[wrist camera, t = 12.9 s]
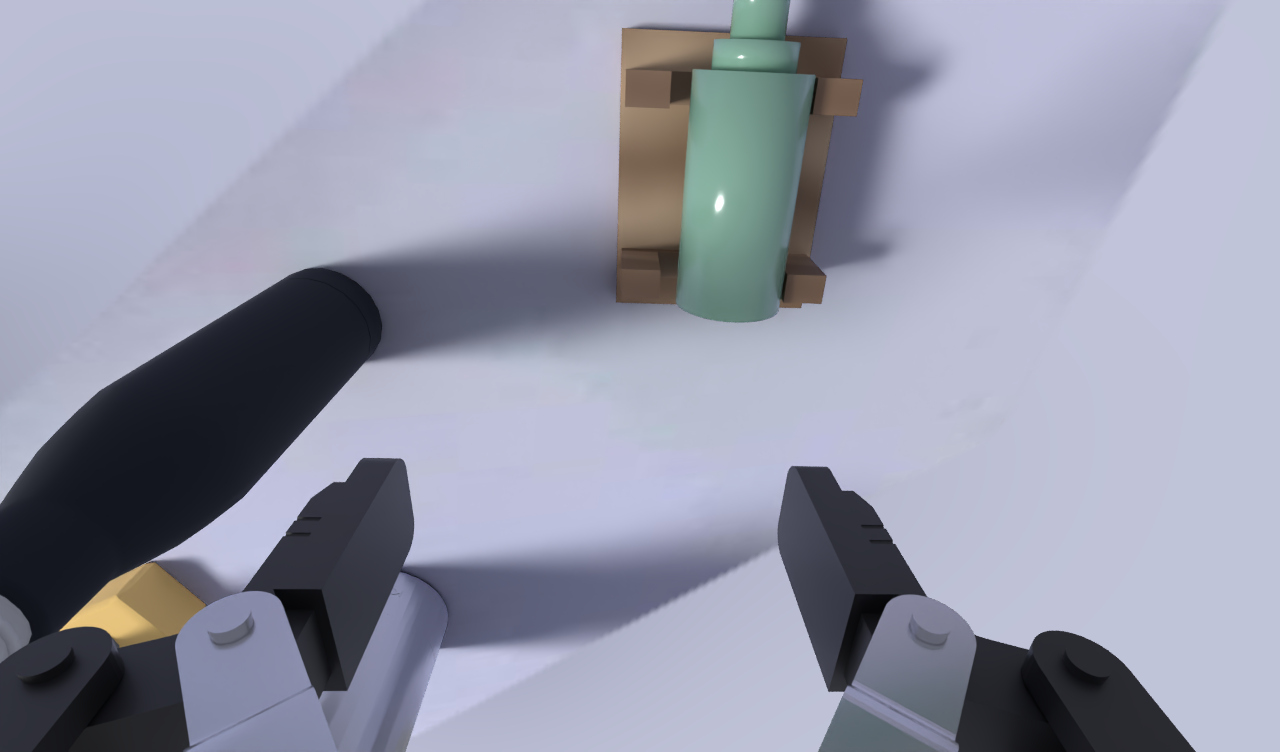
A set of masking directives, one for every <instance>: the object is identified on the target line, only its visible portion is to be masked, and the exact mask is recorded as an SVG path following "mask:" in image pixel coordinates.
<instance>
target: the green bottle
mask: <svg viewBox="0 0 1280 752" xmlns="http://www.w3.org/2000/svg"><path fill="white" fill-rule="evenodd" d="M789 6H790V0H733V10H732V20H731V31H730V39H714V42H713V53H712V65H711V70H701V69H692V80H691V93H690V107H689V120H688V134H687V148H686V161H685V175H684V188H683V202H682V215H681V229H680V243H679V256H678V270H677V283H676V297H675V301H676V304H677V305H678V306H679V307H680V308H681V309H683V310H684V311H686V312H688V313H690V314H693V315H695V316H698V317H702V318H706V319H710V320H716V321H723V322H756V321H761V320H765V319H768V318H771V317H773V316H775V315H776V314H777V313H778V311H779V307H780V300H781V294H782V288H783V281H784V275H785V269H786V262H787V256H788V250H789V243H790V237H791V231H792V224H793V218H794V212H795V205H796V199H797V193H798V187H799V180H800V174H801V168H802V161H803V155H804V149H805V142H806V136H807V130H808V123H809V117H810V111H811V104H812V98H813V92H814V85H815V79H816V75H806V74H797V67H798V60H799V53H800V46H801V43H799V42H791V41H785V36H786V28H787V21H788V13H789Z"/></svg>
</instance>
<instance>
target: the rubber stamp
mask: <svg viewBox="0 0 1280 752" xmlns="http://www.w3.org/2000/svg"><path fill="white" fill-rule="evenodd" d="M205 607H206V604H204V603H203V602H202V601H201V600H200V599H198V598H197V597H196V596H195V595H194V594H192V593H191V592H190V591H189V590H188V589H186V588H185V587H184V586H183V585H182V584H180V583H179V582H178V581H177V580H176V579H174V578H173V577H172V576H171V575H170V574H168V573H167V572H166V571H165V570H164V569H162V568H161V567H160V566H159V565H158V564H156V563H147V564H144V565H142V566H140V567H138V568H136V569H133V570H131V571H129V572H127V573H125V574H123V575H121V576H119V577H117V578H115V579H113V580H111V581H110V582H108V583H107V584H106V585H105V586H104V587H103V588H102V589H101V590H100V591H99V592H98V593H97V594H96V595H95V596H94V597H93V598H92V599H91V600H90V601H89V602H88V603H87V604H86V605H85V606H84V607H83V608H82V609H81V610H80V611H79V612H78V613H77V614H76V615H75V616H74V617H73V618H72V619H71V620H70V621H69V622H68V623H67V624H66V625H65V626H64V627H63V628H62V629H61V630H60V631H62V630H65V629H70V628H75V627H84V626H87V627H98V628H101V629H104V630H106V631H107V632H108V633H109V634H110V636H111V638H112V640H113V642H114V644H115V646H116V648H120V647H125V646H129V645H133V644H137V643H142V642H146V641H150V640H155V639H159V638H163V637H167V636H172V635H175V634H179V632H180V630H181V629H182V628H183V626H184V625H185V624H186V623H187V621H188V620H189V619H190V618H191V617H193V616H194V615H195V614H196V613H197V612H199V611H200V610H202V609H203V608H205Z"/></svg>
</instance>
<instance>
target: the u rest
mask: <svg viewBox="0 0 1280 752" xmlns="http://www.w3.org/2000/svg"><path fill="white" fill-rule="evenodd" d="M714 39H730V33H717V32H695V31H673V30H651V29H629V28H622V58H621V104H620V150H619V196H618V242H617V288H616V302H620V303H652V304H676V301H675V297H676V283H677V270H678V256H679V243H680V229H681V215H682V202H683V188H684V175H685V161H686V148H687V134H688V120H689V107H690V93H691V80H692V69H701V70H711V65H712V53H713V42H714ZM785 41H791V42H799V43H801V46H800V53H799V60H798V67H797V74H806V75H816V79H815V85H814V92H813V98H812V104H811V111H810V117H809V123H808V130H807V136H806V142H805V149H804V155H803V161H802V168H801V174H800V180H799V187H798V193H797V199H796V205H795V212H794V218H793V224H792V231H791V237H790V243H789V250H788V256H787V262H786V269H785V275H784V281H783V288H782V294H781V300H780V307H782V308H801V306H802V303H814V304H821V303H822V297H823V292H824V287H825V281H826V275H825V274H824V273H823V272H822V271H821V270H820V269H819V268H818V267H817V265H816V264H815V263H814V262H813V261H812V260H811V259H810V253H811V247H812V242H813V236H814V230H815V224H816V218H817V213H818V207H819V201H820V195H821V189H822V183H823V178H824V172H825V166H826V160H827V154H828V148H829V143H830V137H831V131H832V125H833V119H834V116H857V111H858V105H859V100H860V95H861V89H862V84H863V80H862V79H841V73H842V67H843V61H844V55H845V49H846V44H847V38H826V37H804V36H785Z"/></svg>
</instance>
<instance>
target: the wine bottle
mask: <svg viewBox="0 0 1280 752" xmlns="http://www.w3.org/2000/svg"><path fill="white" fill-rule="evenodd" d="M381 330H382V323H381V319H380V315H379V311H378V309H377V307H376V305H375V304H374V302H373V300H372V298H371V297H370V295H369V294H368V293H367V292H366V291H365V290H364V289H363V288H362V287H361V286H360V285H359V284H357V283H356V282H355V281H353V280H351V279H349V278H348V277H346V276H344V275H342V274H341V273H337V272H333V271H330V270H326V269H304V270H302V271H299V272H296V273H294V274H291V275H289V276H287V277H286V278H284V279H283V280H281V281H279V282H278V283H276V284H274V285H273V286H271V287H269V288H268V289H266V290H264V291H263V292H261V293H260V294H258V295H256V296H255V297H253V298H251V299H250V300H248V301H246V302H245V303H243V304H241V305H240V306H238V307H237V308H235V309H233V310H232V311H230V312H228V313H227V314H225V315H223V316H222V317H220V318H219V319H217V320H215V321H214V322H212V323H210V324H209V325H207V326H205V327H204V328H202V329H200V330H199V331H197V332H196V333H194V334H192V335H191V336H189V337H187V338H186V339H184V340H182V341H181V342H179V343H177V344H176V345H174V346H173V347H171V348H169V349H168V350H166V351H164V352H163V353H161V354H159V355H158V356H156V357H155V358H153V359H151V360H150V361H148V362H146V363H145V364H143V365H141V366H140V367H138V368H136V369H135V370H133V371H132V372H130V373H128V374H127V375H125V376H123V377H122V378H120V379H118V380H117V381H115V382H114V383H112V384H110V385H109V386H107V387H105V388H104V389H102V390H100V391H99V392H98V393H97V394H96V395H95V396H93V397H92V398H91V399H90V400H89V401H88V402H87V403H86V404H85V405H84V406H83V407H81V408H80V409H79V410H78V411H77V412H76V413H75V414H74V415H73V416H72V417H71V418H70V419H69V420H68V421H67V422H66V423H65V424H64V425H63V426H62V427H61V428H60V429H59V430H58V431H57V432H56V433H55V434H54V435H53V436H52V437H51V438H50V439H49V440H48V441H47V442H46V443H45V444H44V445H43V446H42V447H41V449H40V450H39V451H38V452H37V453H36V454H35V456H34V457H33V459H32V460H31V461H30V463H29V464H28V466H27V467H26V468H25V470H24V471H23V473H22V474H21V475H20V477H19V478H18V479H17V481H16V482H15V484H14V485H13V487H12V488H11V490H10V491H9V492H8V494H7V495H6V497H5V498H4V500H3V501H2V503H1V504H0V663H1V662H2V661H4V660H5V659H6V658H8V657H9V656H10V655H12V654H13V653H15V652H16V651H18V650H19V649H21V648H22V647H24V646H26V645H28V644H30V643H32V642H34V641H36V640H38V639H40V638H42V637H44V636H47V635H50V634H52V633H55V632H58V631H60V630H61V629H62V628H63V627H64V626H65V625H66V624H67V623H68V622H69V621H70V620H71V619H72V618H73V617H74V616H75V615H76V614H77V613H78V612H79V611H80V610H81V609H82V608H83V607H84V606H85V605H86V604H87V603H88V602H89V601H90V600H91V599H92V598H93V597H94V596H95V595H96V594H97V593H98V592H99V591H100V590H101V589H102V588H103V587H104V586H105V585H106V584H107V583H108V582H110V581H111V580H113V579H115V578H117V577H119V576H121V575H123V574H125V573H127V572H129V571H131V570H133V569H135V568H137V567H139V566H140V565H142V564H144V563H146V562H148V561H150V560H152V559H154V558H156V557H157V556H159V555H161V554H163V553H165V552H167V551H169V550H170V549H172V548H174V547H176V546H178V545H180V544H181V543H182V542H184V541H185V540H187V539H188V538H190V537H191V536H193V535H194V534H196V533H197V532H198V531H200V530H201V529H203V528H204V527H206V526H207V525H208V524H210V523H211V522H212V521H214V520H215V519H216V518H217V517H219V516H220V515H221V514H223V513H224V512H225V511H227V510H228V509H229V508H231V507H232V506H233V505H234V504H235V503H237V502H238V501H239V500H240V499H242V498H243V497H244V496H245V495H246V494H247V493H248V492H249V490H250V489H251V488H252V487H253V486H254V485H255V484H256V483H257V482H258V480H259V479H260V478H261V477H262V476H263V475H264V474H265V473H266V472H267V470H268V469H269V468H270V467H271V466H272V465H273V464H274V463H275V462H276V460H277V459H278V458H279V457H280V456H281V455H282V454H283V453H284V452H285V450H286V449H287V448H288V447H289V446H290V445H291V444H292V443H293V442H294V440H295V439H296V438H297V437H298V436H299V435H300V434H301V433H302V432H303V430H304V429H305V428H306V427H307V426H308V425H309V424H310V423H311V422H312V420H313V419H314V418H315V417H316V416H317V415H318V414H319V413H320V411H321V410H322V409H323V408H324V407H325V406H326V405H327V404H328V403H329V401H330V400H331V399H332V398H333V397H334V396H335V395H336V394H337V393H338V391H339V390H340V389H341V388H342V387H343V386H344V385H345V384H346V383H347V381H348V380H349V379H350V378H351V377H352V376H353V375H354V374H355V373H356V371H357V370H358V369H359V368H360V367H361V366H362V365H363V364H364V363H365V361H366V360H367V359H368V358H369V357H370V356H371V355H372V354H373V353H374V351H375V349H376V347H377V345H378V343H379V342H380V339H381Z"/></svg>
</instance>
